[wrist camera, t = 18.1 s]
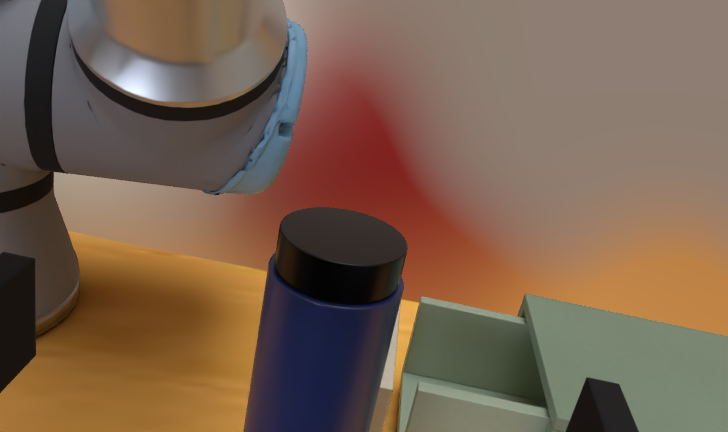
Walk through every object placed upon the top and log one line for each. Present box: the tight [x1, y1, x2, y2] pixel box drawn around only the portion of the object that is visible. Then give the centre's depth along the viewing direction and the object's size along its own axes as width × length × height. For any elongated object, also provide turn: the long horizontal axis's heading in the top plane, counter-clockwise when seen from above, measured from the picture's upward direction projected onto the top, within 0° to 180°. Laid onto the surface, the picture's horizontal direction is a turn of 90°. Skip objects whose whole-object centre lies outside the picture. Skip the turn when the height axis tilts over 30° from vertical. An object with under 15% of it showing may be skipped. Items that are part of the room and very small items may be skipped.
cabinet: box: [517, 294, 728, 432], centre depth 41 cm, size 15×13×9 cm
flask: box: [244, 207, 408, 432], centre depth 29 cm, size 5×5×18 cm
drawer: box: [369, 296, 551, 432], centre depth 41 cm, size 18×11×7 cm, turn 84°
